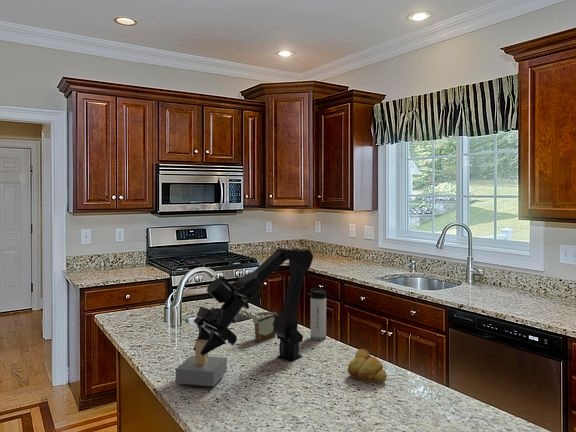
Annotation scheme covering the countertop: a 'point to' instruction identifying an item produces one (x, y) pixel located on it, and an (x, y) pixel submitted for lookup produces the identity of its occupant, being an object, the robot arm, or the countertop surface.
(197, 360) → the cover
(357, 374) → the bread roll
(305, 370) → the countertop surface
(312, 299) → the travel mug
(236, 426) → the countertop surface
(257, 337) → the food container
